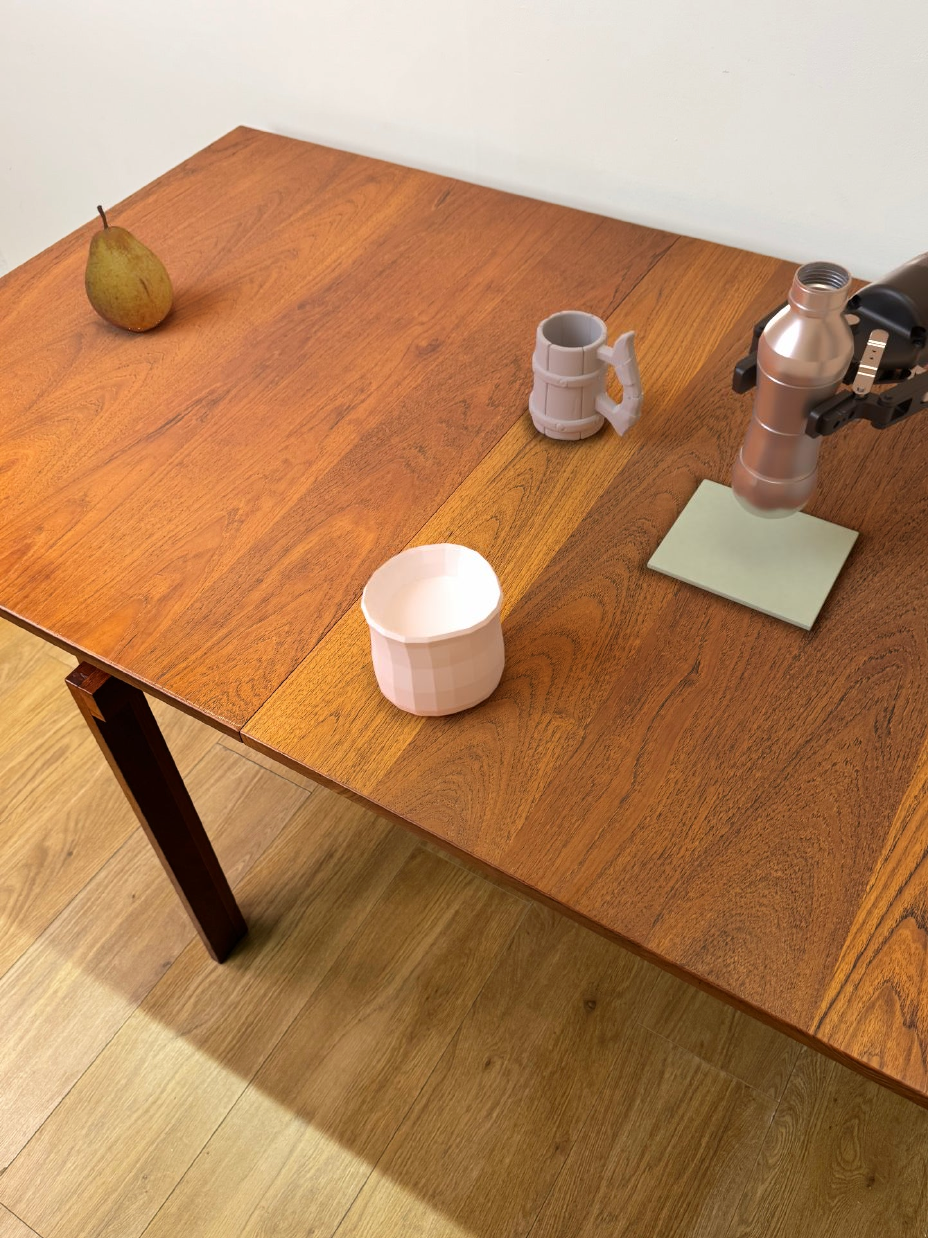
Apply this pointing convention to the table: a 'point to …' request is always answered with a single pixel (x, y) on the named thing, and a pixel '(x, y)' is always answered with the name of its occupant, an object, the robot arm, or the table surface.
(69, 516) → the table surface
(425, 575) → the cup
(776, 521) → the mat
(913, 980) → the table surface
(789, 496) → the metal bottle
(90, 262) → the fruit
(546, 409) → the mug
